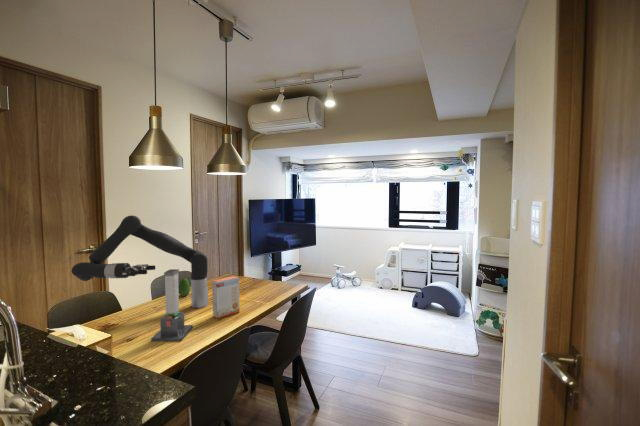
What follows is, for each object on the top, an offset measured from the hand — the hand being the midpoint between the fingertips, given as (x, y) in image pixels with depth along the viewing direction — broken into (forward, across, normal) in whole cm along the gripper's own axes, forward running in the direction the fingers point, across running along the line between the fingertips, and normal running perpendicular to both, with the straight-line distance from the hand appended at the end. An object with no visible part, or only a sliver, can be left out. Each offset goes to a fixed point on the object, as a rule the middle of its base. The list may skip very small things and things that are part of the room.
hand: (151, 269), depth 154 cm
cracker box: (+32, +17, +32) cm, 48 cm away
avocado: (-4, +51, +31) cm, 60 cm away
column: (+13, -8, +23) cm, 28 cm away
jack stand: (+12, -8, +31) cm, 34 cm away
